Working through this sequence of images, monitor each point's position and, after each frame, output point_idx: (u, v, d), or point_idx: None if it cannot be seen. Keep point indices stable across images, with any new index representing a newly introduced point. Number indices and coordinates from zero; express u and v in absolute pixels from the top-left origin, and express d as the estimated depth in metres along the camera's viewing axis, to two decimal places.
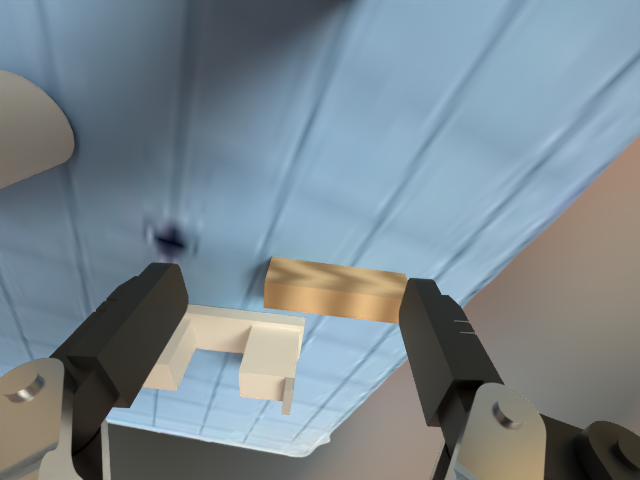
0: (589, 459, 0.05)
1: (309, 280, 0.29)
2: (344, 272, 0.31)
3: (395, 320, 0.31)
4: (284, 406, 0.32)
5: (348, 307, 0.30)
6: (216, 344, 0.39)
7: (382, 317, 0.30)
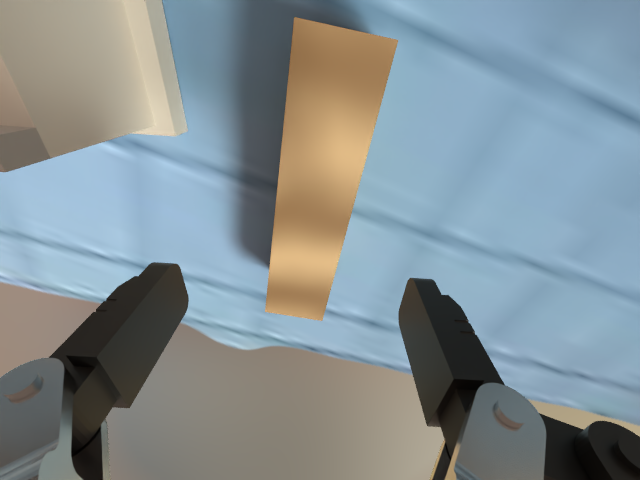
0: (589, 459, 0.05)
1: None
2: None
3: (274, 303, 0.18)
4: None
5: (303, 235, 0.15)
6: None
7: (279, 286, 0.17)
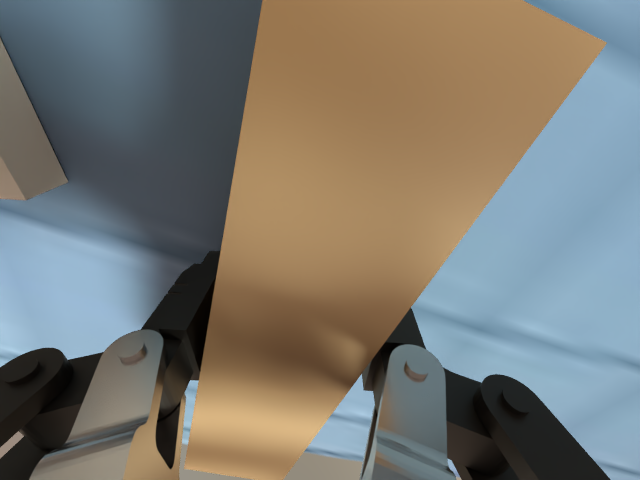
0: (485, 414, 0.05)
1: None
2: None
3: (200, 462, 0.10)
4: None
5: (259, 395, 0.08)
6: None
7: (209, 446, 0.10)
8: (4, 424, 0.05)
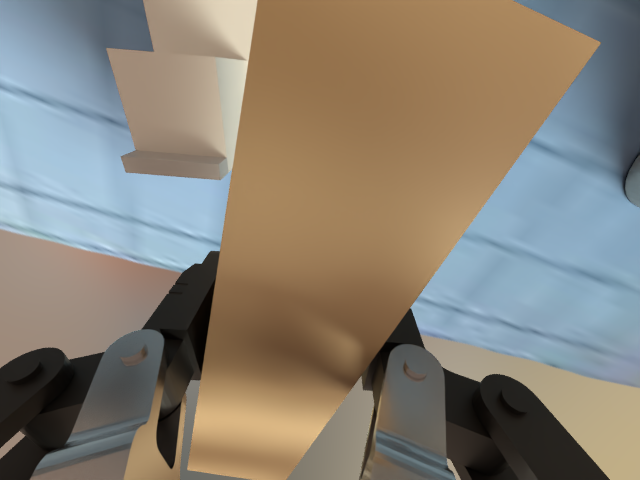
0: (484, 414, 0.05)
1: None
2: None
3: (203, 463, 0.10)
4: (156, 162, 0.17)
5: (260, 396, 0.08)
6: None
7: (212, 448, 0.10)
8: (5, 424, 0.05)
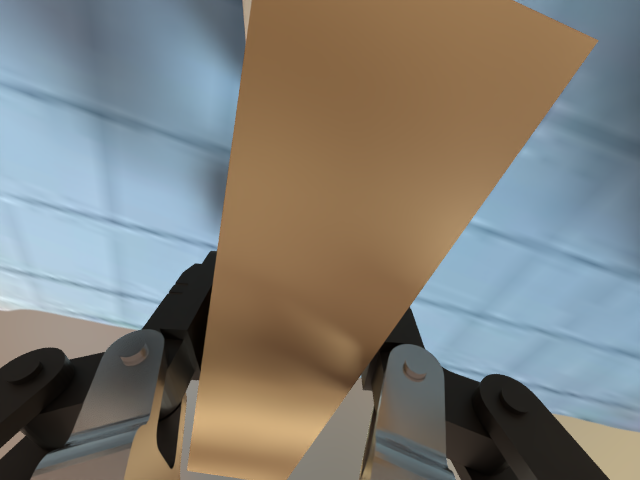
0: (483, 414, 0.05)
1: None
2: None
3: (203, 464, 0.10)
4: None
5: (260, 397, 0.08)
6: None
7: (211, 448, 0.10)
8: (5, 424, 0.05)
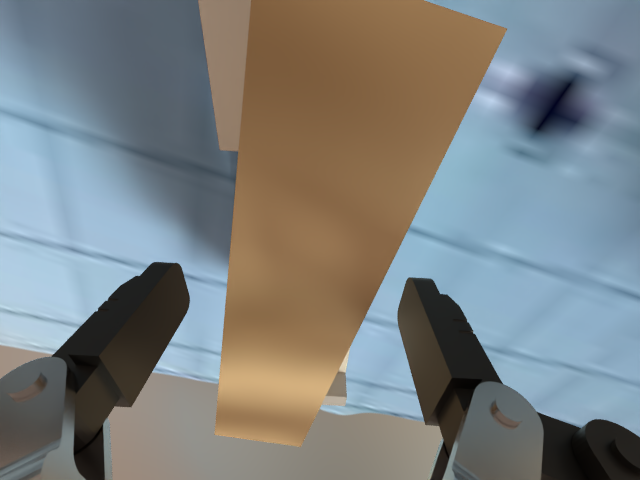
0: (586, 457, 0.05)
1: None
2: None
3: (228, 427, 0.12)
4: None
5: (274, 354, 0.09)
6: None
7: (235, 410, 0.11)
8: None
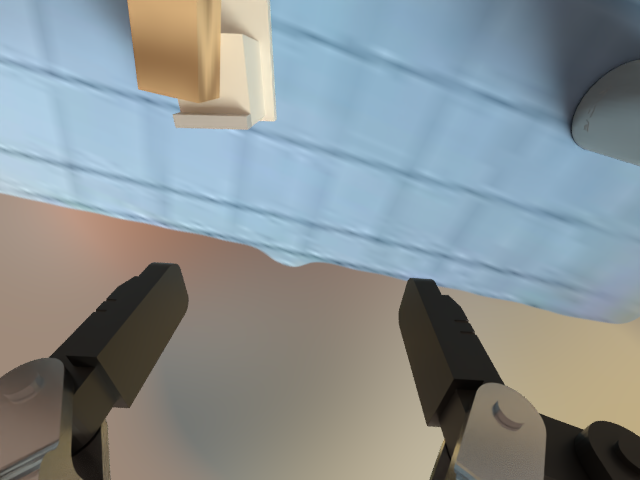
0: (589, 459, 0.05)
1: None
2: None
3: (145, 75, 0.18)
4: (199, 117, 0.22)
5: None
6: None
7: (145, 46, 0.17)
8: None
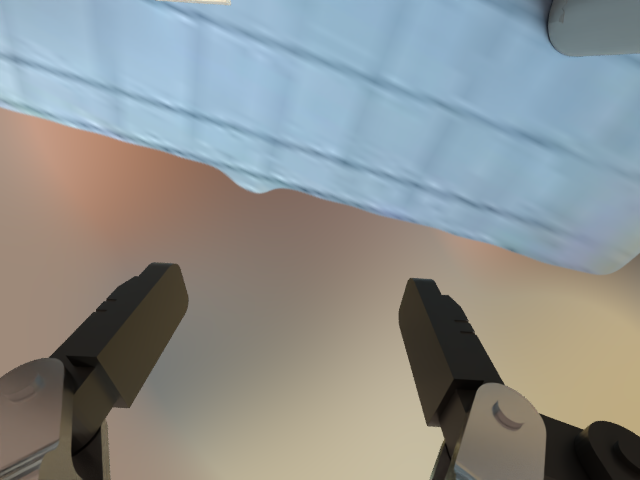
0: (589, 459, 0.05)
1: None
2: None
3: None
4: None
5: None
6: None
7: None
8: None
